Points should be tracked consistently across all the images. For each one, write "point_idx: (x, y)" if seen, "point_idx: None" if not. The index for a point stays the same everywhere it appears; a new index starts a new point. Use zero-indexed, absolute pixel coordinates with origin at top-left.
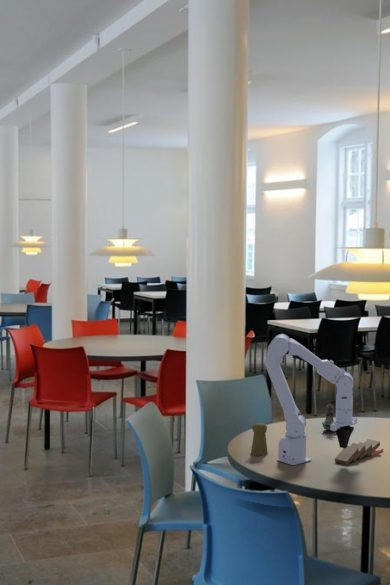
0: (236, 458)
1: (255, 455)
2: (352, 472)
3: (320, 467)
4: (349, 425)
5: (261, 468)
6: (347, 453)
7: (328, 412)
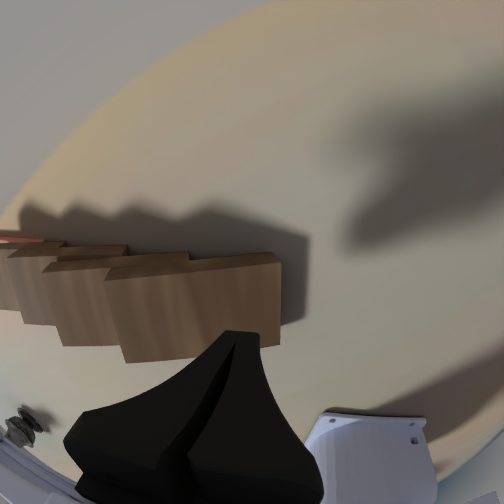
0: None
1: None
2: (395, 154)
3: (402, 341)
4: (88, 486)
5: (477, 438)
6: (197, 310)
7: None
